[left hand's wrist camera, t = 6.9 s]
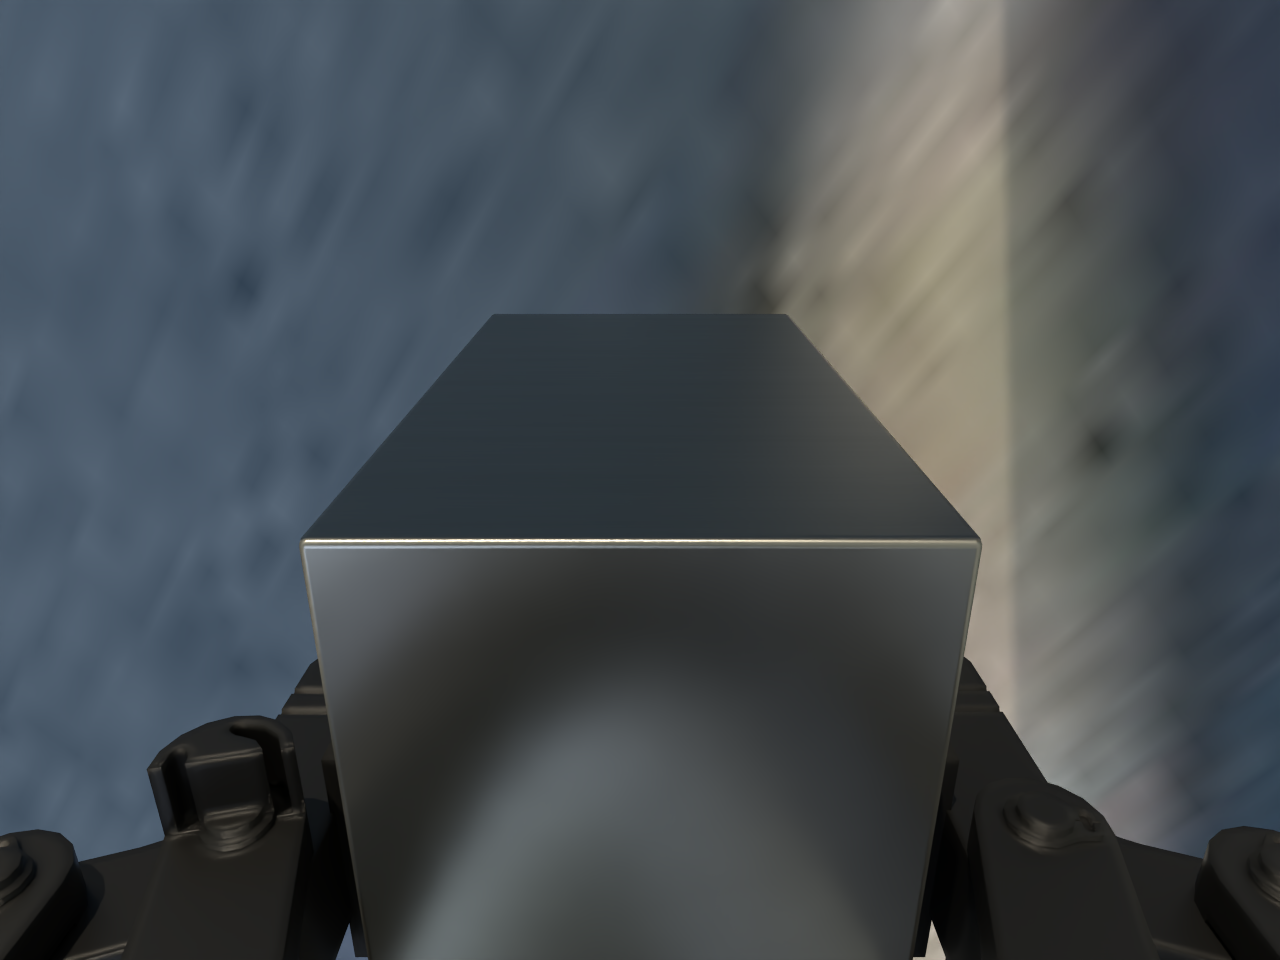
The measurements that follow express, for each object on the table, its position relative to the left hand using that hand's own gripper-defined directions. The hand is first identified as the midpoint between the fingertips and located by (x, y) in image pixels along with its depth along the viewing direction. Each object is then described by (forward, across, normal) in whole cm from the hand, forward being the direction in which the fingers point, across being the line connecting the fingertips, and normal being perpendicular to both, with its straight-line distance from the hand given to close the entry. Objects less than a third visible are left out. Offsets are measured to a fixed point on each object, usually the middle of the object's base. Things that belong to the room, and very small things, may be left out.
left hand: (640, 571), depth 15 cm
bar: (+1, 0, -8) cm, 8 cm away
